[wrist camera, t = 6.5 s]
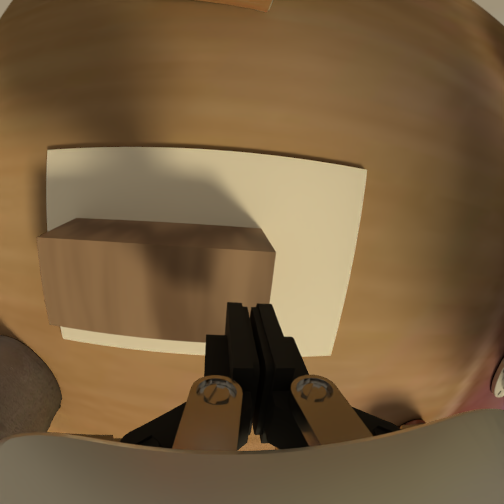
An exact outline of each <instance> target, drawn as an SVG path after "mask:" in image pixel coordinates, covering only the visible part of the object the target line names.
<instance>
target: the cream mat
mask: <svg viewBox="0 0 504 504" xmlns="http://www.w3.org/2000/svg"><path fill="white" fill-rule="evenodd" d="M366 176H367V170H365V169H360V168H355V167H349V166H344V165H338V164H332V163H325V162H319V161H312V160H305V159H298V158H291V157H283V156H275V155H266V154H256V153H246V152H235V151H223V150H209V149H191V148H167V147H94V148H71V149H55V150H48V151H47V174H46V209H47V231H50V230H52V229H54V228H56V227H58V226H60V225H62V224H65V223H67V222H69V221H71V220H73V219H75V218H90V219H113V220H135V221H154V222H172V223H189V224H205V225H220V226H235V227H249V228H261V229H262V230H263V232H264V234H265V235H266V237H267V238H268V240H269V242H270V243H271V245H272V246H273V248H274V250H275V251H276V257H275V265H274V273H273V281H272V288H271V296H270V303H269V304H272V306H273V308H274V311H275V314H276V316H277V319H278V322H279V325H280V327H281V330H282V333H283V335H284V337H293V338H294V340H295V342H296V345H297V347H298V349H299V352H300V354H301V357H306V356H330V355H331V352H332V349H333V345H334V341H335V337H336V333H337V330H338V326H339V322H340V317H341V313H342V309H343V305H344V301H345V296H346V292H347V287H348V283H349V278H350V273H351V268H352V263H353V258H354V253H355V247H356V242H357V236H358V230H359V224H360V218H361V212H362V205H363V198H364V191H365V184H366ZM60 327H61V326H60ZM61 332H62V336H63V339H68V340H73V341H79V342H85V343H91V344H98V345H105V346H112V347H119V348H127V349H136V350H145V351H155V352H166V353H178V354H192V355H205V347H206V343H202V342H186V341H173V340H161V339H150V338H140V337H131V336H123V335H114V334H107V333H99V332H92V331H86V330H79V329H73V328H67V327H61Z"/></svg>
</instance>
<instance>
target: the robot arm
mask: <svg viewBox="0 0 504 504" xmlns="http://www.w3.org/2000/svg"><path fill="white" fill-rule="evenodd" d="M491 391H492V393H493V394H494V395H495V396H496V397H502V396H504V358H503V360H502V361H501V363H500V365H499V367H498V369H497V371H496V373H495V376H494V379H493V381H492V386H491ZM252 423H253V430H254V434H255V435H260V439H261V443H270V444H272V445H273V446H275V450H261V451H237V450H238V449H240V448H241V447H242V446H243V445H245V444H246V443H247V440H248V435H250V433H251V427H252ZM0 504H504V410H501V409H479V410H471V411H467V412H463V413H459V414H456V415H452V416H449V417H446V418H442V419H439V420H435V421H432V422H429V423H425V424H415V425H401V427H400V428H398V427H397V426H396V425H394V424H392V423H390V422H387V421H385V420H382V419H380V418H377V417H375V416H372V415H370V414H368V413H365V412H363V411H360V410H358V409H356V408H353V407H351V405H350V404H349V403H348V401H347V400H346V399H345V397H344V396H343V395H342V393H341V392H340V391H339V389H338V388H337V386H336V385H335V384H334V383H333V382H332V381H330V380H329V379H327V378H325V377H322V376H318V375H309V373H308V371H307V369H306V366H305V364H304V361H303V359H302V357H301V354H300V352H299V349H298V347H297V345H296V342H295V340H294V338H293V337H284V335H283V333H282V330H281V327H280V325H279V322H278V319H277V316H276V314H275V311H274V308H273V306H272V304H261V303H257V305H256V307H251V312H250V317H249V312H248V307H243V306H242V303H237V302H227V310H226V324H225V335H210V334H206V347H205V373H204V377H202V378H200V379H198V380H197V381H195V382H194V383H193V385H192V387H191V389H190V393H189V396H188V399H187V402H185V403H183V404H182V405H180V406H178V407H176V408H174V409H173V410H171V411H169V412H167V413H165V414H163V415H162V416H160V417H158V418H156V419H154V420H152V421H150V422H148V423H147V424H145V425H143V426H141V427H139V428H137V429H135V430H133V431H131V432H129V433H128V434H126V435H125V436H124V437H123V438H114V437H113V435H86V434H67V433H50V432H27V433H19V434H14V435H10V436H8V437H5V438H3V439H2V440H0Z"/></svg>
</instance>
